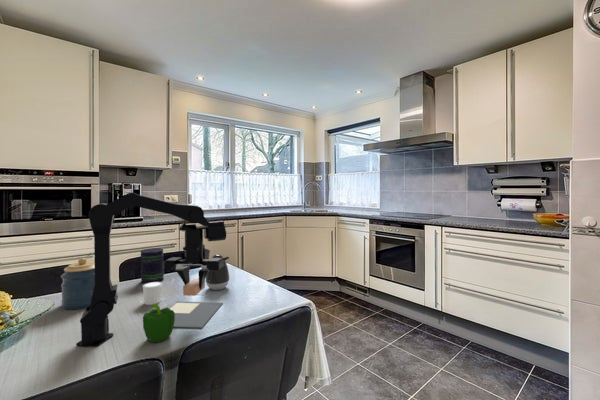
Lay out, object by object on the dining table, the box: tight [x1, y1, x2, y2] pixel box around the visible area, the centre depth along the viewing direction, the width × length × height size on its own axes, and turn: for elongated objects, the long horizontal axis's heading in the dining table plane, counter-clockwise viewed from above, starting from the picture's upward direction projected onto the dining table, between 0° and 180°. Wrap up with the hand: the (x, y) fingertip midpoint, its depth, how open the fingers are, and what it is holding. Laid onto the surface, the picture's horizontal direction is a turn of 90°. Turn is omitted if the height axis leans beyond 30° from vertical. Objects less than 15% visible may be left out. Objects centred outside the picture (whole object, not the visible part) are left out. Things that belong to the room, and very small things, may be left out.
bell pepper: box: [142, 303, 175, 343], centre depth 85 cm, size 8×8×10 cm
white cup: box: [142, 282, 163, 306], centre depth 112 cm, size 7×7×7 cm
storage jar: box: [140, 247, 165, 285], centre depth 138 cm, size 10×10×15 cm
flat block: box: [182, 278, 206, 297], centre depth 96 cm, size 8×4×3 cm, turn 176°
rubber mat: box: [168, 301, 224, 329], centre depth 101 cm, size 20×18×1 cm
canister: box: [60, 257, 95, 310], centre depth 111 cm, size 13×13×18 cm
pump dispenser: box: [205, 254, 230, 291], centre depth 128 cm, size 10×10×15 cm
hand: (194, 288), depth 97 cm, fingers closed on flat block, 4 cm apart
